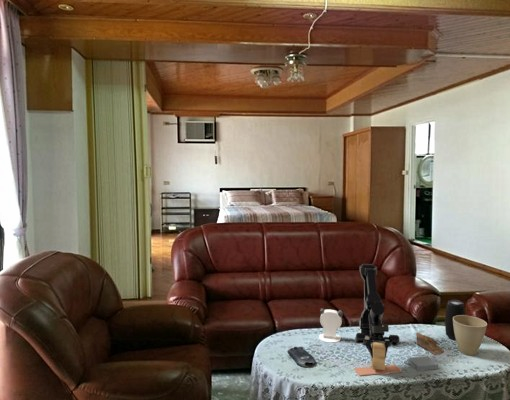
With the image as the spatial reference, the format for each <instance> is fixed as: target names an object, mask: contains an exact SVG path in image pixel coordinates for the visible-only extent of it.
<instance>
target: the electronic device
mask: <svg viewBox="0 0 510 400" xmlns="http://www.w3.org/2000/svg"><path fill="white" fill-rule="evenodd" d="M287 354H288V355H289V357H291V358H292V359H293V360H294V361H295V363H296V365H298V366H300V367H305V368H307V369H308V368H309V367H310V366H308V365H309V364H311V363H312V365H314V364H315V363H316V359H315V357H314V356H313V355H311V353H309V352H308V351H306V349H304V346H293V347H290V348H288V349H287Z"/></svg>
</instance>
